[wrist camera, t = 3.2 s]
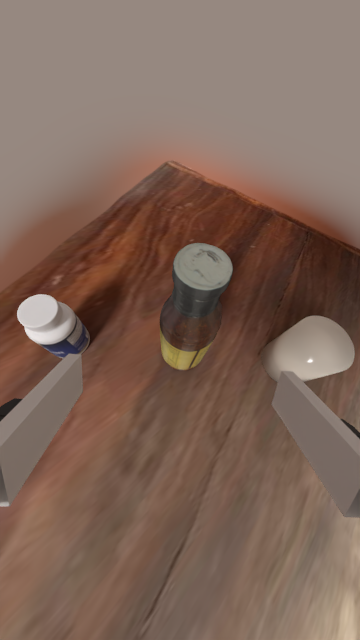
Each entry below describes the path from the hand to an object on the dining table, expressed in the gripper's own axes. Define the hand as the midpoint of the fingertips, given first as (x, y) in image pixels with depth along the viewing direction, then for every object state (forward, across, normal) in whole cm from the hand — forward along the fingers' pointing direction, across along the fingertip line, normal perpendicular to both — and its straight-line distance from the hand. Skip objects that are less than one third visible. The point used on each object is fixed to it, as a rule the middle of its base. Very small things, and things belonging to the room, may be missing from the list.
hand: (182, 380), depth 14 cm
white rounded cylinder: (+16, +17, -6) cm, 25 cm away
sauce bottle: (+17, +1, -6) cm, 18 cm away
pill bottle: (+17, -15, -6) cm, 23 cm away
